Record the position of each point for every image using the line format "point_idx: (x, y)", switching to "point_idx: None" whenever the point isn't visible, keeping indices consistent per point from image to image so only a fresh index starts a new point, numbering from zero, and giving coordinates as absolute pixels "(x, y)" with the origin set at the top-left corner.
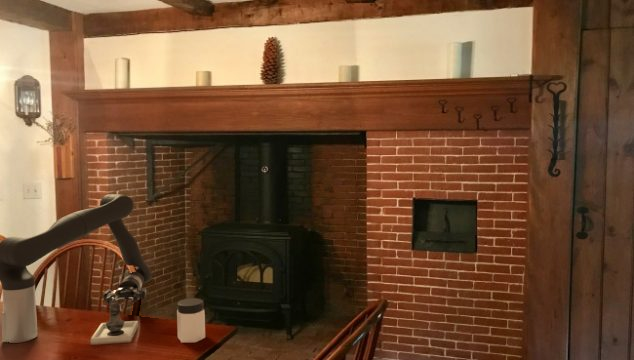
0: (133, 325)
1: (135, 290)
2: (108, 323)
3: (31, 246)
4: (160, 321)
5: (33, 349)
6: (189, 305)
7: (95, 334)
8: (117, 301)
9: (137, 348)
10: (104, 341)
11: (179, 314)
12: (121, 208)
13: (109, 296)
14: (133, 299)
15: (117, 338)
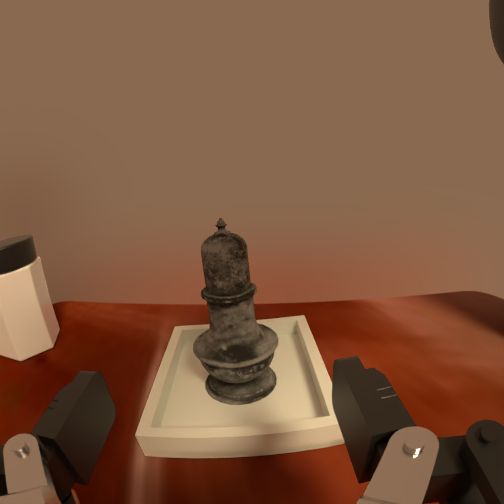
0: (160, 391)
1: (18, 493)
2: (260, 326)
3: (490, 5)
4: None
5: (446, 306)
6: (19, 236)
7: (303, 333)
8: (206, 239)
9: (161, 320)
10: None
11: (38, 263)
12: None
13: (356, 377)
14: (105, 391)
15: None
